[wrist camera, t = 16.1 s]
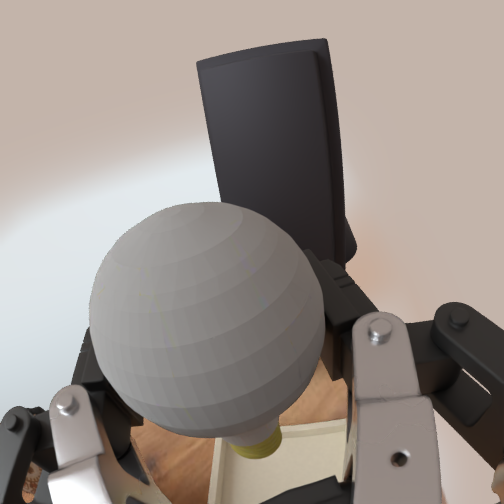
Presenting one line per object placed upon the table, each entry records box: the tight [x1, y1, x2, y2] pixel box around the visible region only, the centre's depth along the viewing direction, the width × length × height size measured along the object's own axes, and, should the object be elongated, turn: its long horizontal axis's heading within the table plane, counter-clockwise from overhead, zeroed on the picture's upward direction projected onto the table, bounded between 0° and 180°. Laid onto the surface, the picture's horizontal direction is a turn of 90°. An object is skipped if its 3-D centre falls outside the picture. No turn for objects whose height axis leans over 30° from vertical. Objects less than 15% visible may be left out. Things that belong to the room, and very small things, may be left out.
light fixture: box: [196, 38, 357, 270], centre depth 39 cm, size 17×21×30 cm
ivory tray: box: [208, 418, 346, 504], centre depth 17 cm, size 11×11×2 cm
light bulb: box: [89, 202, 325, 459], centre depth 8 cm, size 6×5×10 cm
